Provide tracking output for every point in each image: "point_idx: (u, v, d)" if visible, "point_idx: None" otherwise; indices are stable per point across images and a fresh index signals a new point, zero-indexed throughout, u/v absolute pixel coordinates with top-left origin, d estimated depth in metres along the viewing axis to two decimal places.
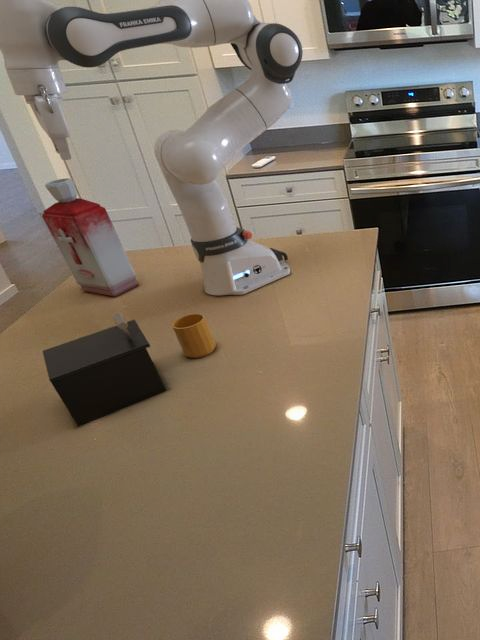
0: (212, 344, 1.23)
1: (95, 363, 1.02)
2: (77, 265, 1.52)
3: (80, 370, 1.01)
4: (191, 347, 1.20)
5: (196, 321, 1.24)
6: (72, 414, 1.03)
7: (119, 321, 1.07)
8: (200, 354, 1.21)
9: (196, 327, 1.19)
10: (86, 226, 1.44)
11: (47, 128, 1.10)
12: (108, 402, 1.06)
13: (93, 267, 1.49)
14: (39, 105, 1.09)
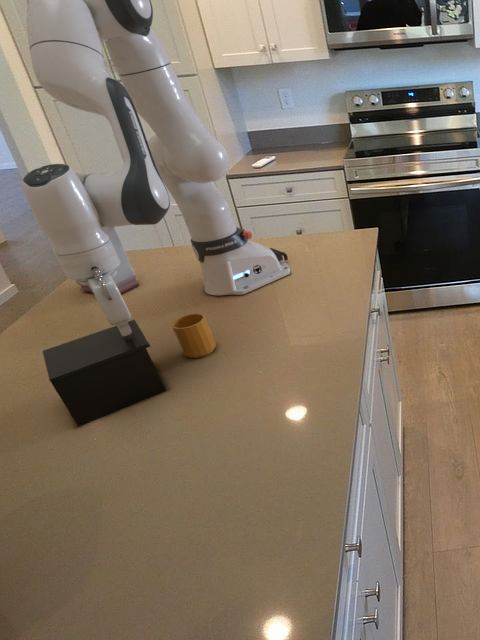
0: (212, 344, 1.23)
1: (95, 363, 1.02)
2: None
3: (80, 370, 1.01)
4: (191, 347, 1.20)
5: (196, 321, 1.24)
6: (72, 414, 1.03)
7: None
8: (200, 354, 1.21)
9: (196, 327, 1.19)
10: None
11: (107, 317, 0.98)
12: (108, 402, 1.06)
13: None
14: (96, 294, 0.96)
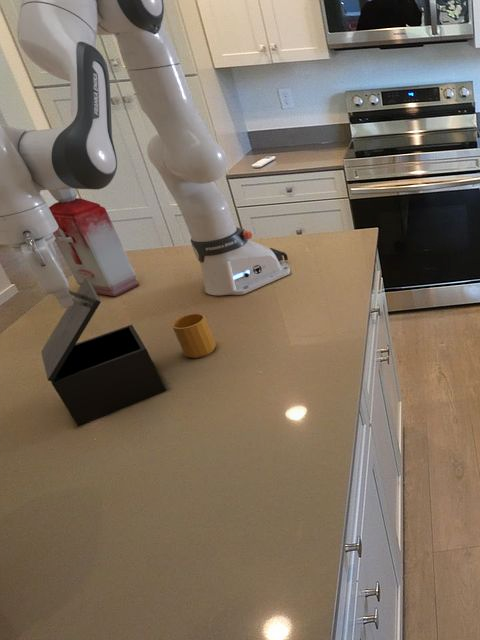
0: (212, 344, 1.23)
1: (69, 345, 0.99)
2: (77, 265, 1.52)
3: (64, 358, 0.99)
4: (191, 347, 1.20)
5: (196, 321, 1.24)
6: (72, 414, 1.03)
7: None
8: (200, 354, 1.21)
9: (196, 327, 1.19)
10: (86, 226, 1.44)
11: (41, 285, 0.91)
12: (108, 402, 1.06)
13: (93, 267, 1.49)
14: (27, 260, 0.89)
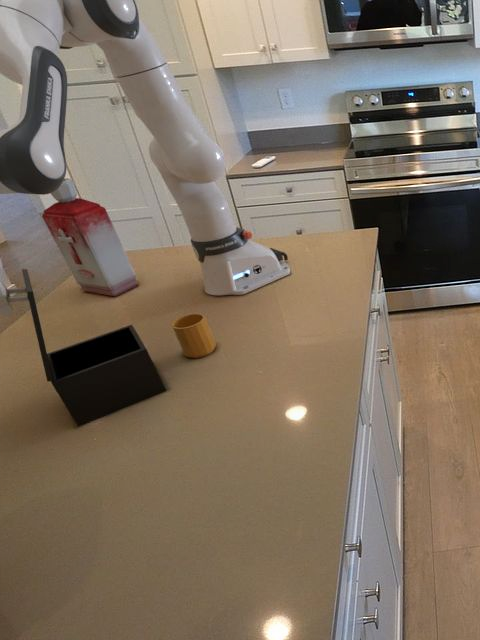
0: (212, 344, 1.23)
1: (39, 343, 0.96)
2: (77, 265, 1.52)
3: (45, 356, 0.97)
4: (191, 347, 1.20)
5: (196, 321, 1.24)
6: (72, 414, 1.03)
7: None
8: (200, 354, 1.21)
9: (196, 327, 1.19)
10: (86, 226, 1.44)
11: None
12: (108, 402, 1.06)
13: (93, 267, 1.49)
14: None
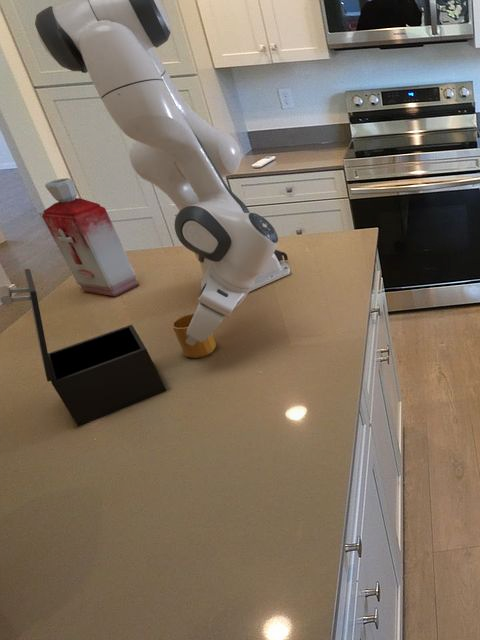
0: (212, 344, 1.23)
1: (41, 343, 0.96)
2: (77, 265, 1.52)
3: (45, 356, 0.97)
4: (191, 347, 1.20)
5: None
6: (72, 414, 1.03)
7: (0, 300, 0.94)
8: (200, 354, 1.21)
9: None
10: (86, 226, 1.44)
11: None
12: (108, 402, 1.06)
13: (93, 267, 1.49)
14: None
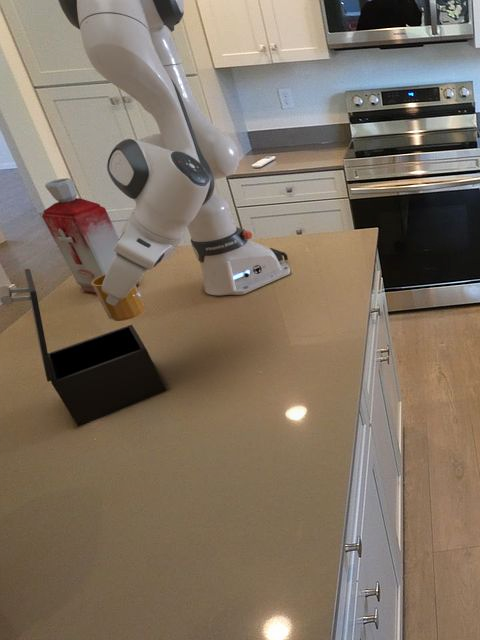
0: (140, 305, 1.09)
1: (41, 343, 0.96)
2: (77, 265, 1.52)
3: (45, 356, 0.97)
4: (114, 308, 1.06)
5: None
6: (72, 414, 1.03)
7: (0, 300, 0.94)
8: (125, 316, 1.07)
9: None
10: (86, 226, 1.44)
11: None
12: (108, 402, 1.06)
13: (93, 267, 1.49)
14: None
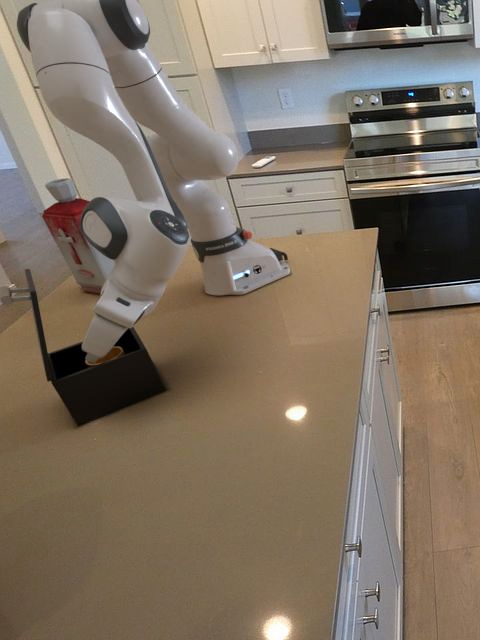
0: None
1: (41, 343, 0.96)
2: (77, 265, 1.52)
3: (45, 356, 0.97)
4: None
5: (115, 355, 1.13)
6: (72, 414, 1.03)
7: (0, 300, 0.94)
8: None
9: None
10: None
11: None
12: (108, 402, 1.06)
13: (93, 267, 1.49)
14: None
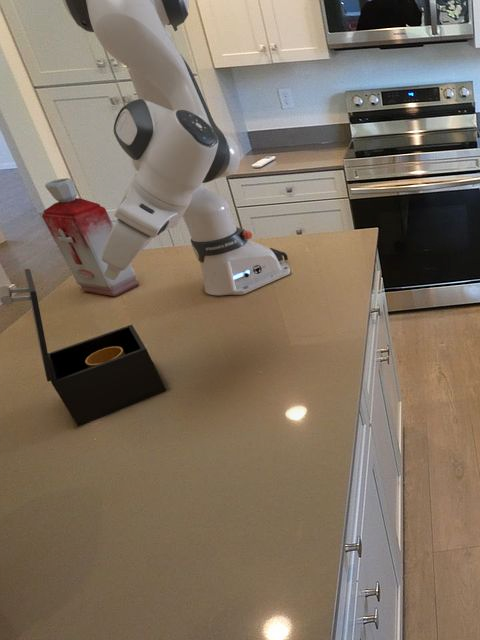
0: None
1: (41, 343, 0.96)
2: (77, 265, 1.52)
3: (45, 356, 0.97)
4: None
5: (115, 355, 1.13)
6: (72, 414, 1.03)
7: (0, 300, 0.94)
8: None
9: None
10: (86, 226, 1.44)
11: None
12: (108, 402, 1.06)
13: (93, 267, 1.49)
14: None
